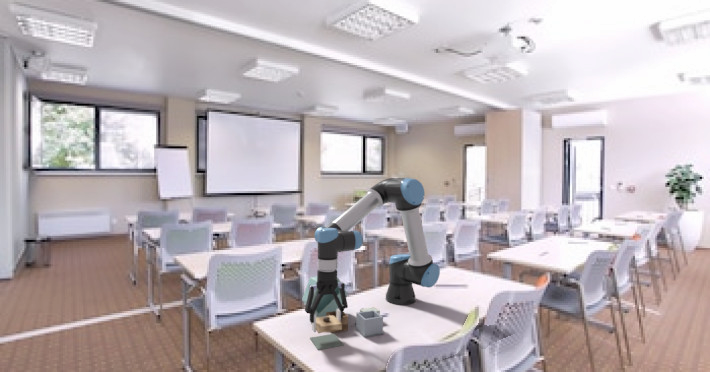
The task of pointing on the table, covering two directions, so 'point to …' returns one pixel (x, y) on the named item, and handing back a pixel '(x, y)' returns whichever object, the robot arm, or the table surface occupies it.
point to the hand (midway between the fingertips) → (326, 328)
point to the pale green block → (370, 310)
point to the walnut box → (343, 321)
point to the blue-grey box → (369, 323)
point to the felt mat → (326, 341)
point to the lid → (327, 324)
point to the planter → (322, 299)
